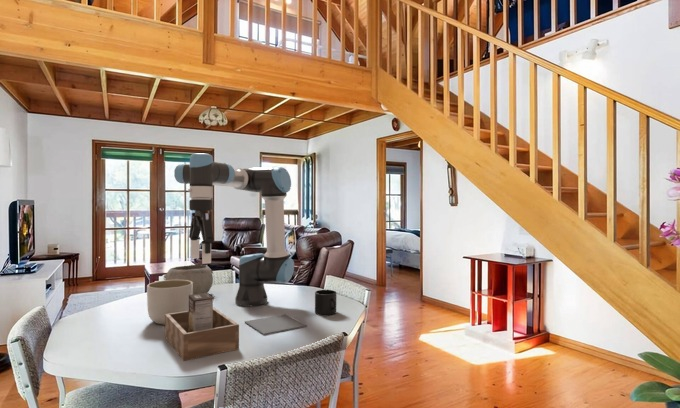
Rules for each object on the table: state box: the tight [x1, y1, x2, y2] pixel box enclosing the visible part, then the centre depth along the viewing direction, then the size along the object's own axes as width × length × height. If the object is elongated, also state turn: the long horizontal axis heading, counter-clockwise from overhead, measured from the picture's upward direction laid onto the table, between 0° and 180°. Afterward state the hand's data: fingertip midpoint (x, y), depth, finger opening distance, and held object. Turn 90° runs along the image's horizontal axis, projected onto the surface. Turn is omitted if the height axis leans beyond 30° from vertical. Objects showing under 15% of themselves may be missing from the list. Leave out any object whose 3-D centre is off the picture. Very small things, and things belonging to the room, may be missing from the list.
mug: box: [314, 289, 337, 316], centre depth 173 cm, size 9×12×9 cm
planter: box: [146, 279, 193, 326], centre depth 160 cm, size 17×17×15 cm
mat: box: [244, 313, 308, 336], centre depth 157 cm, size 18×18×1 cm
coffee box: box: [189, 292, 214, 332], centre depth 136 cm, size 9×6×16 cm
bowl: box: [164, 264, 214, 294], centre depth 203 cm, size 23×23×15 cm
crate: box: [164, 306, 240, 361], centre depth 136 cm, size 26×17×8 cm, turn 35°
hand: (200, 260), depth 136 cm, fingers open, 13 cm apart
